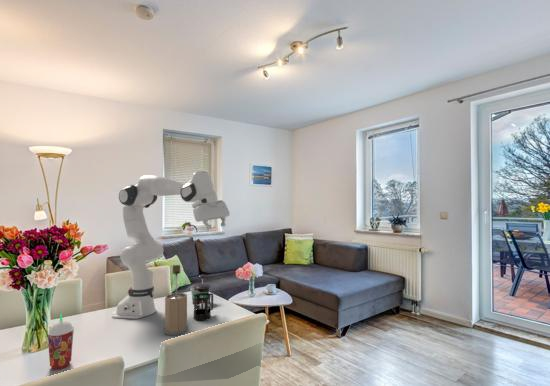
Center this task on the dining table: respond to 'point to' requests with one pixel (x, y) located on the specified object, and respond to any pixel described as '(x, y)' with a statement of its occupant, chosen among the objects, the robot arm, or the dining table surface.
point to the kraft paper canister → (175, 315)
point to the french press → (202, 308)
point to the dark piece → (197, 293)
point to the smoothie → (60, 343)
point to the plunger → (176, 271)
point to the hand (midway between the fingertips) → (216, 227)
